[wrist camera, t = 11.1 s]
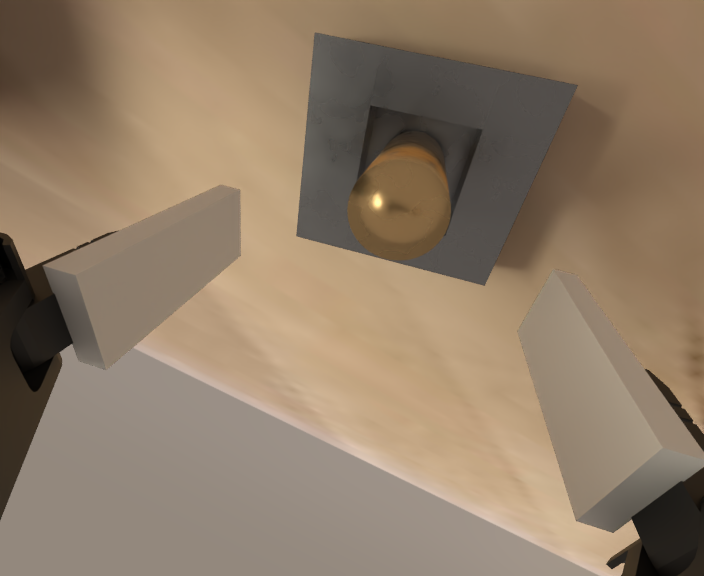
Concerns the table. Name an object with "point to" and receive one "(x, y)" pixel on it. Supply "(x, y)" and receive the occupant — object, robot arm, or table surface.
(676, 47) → the table surface
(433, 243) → the golden brown cylinder
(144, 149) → the table surface
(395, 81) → the jig block
